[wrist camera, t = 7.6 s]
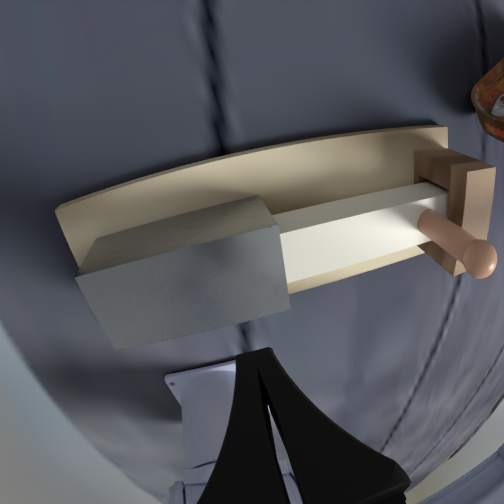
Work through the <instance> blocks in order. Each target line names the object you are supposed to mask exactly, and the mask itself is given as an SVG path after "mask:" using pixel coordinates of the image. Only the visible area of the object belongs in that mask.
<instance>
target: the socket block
mask: <svg viewBox="0 0 504 504" xmlns="http://www.w3.org/2000/svg"><path fill="white" fill-rule="evenodd" d="M413 152H414V184H418V183H423V182H428V181H432V182H434V183H436V184H438V185H440V186H442V187H444V188H446V189H448V190H450V196H449V209H448V219H449V220H450V221H452V222H453V223H455V224H456V225H458V226H459V227H461V228H462V229H464V230H465V231H467V232H468V233H470V234H471V235H473V236H474V237H476V238H477V239H483V240H486V239H487V233H488V228H489V222H490V215H491V208H492V201H493V192H494V183H495V171H496V167H494V166H492V165H490V164H487V163H485V162H482V161H480V160H477V159H475V158H472V157H469V156H467V155H464V154H461V153H459V152H456V151H453V150H450V149H447V148H444V147H440V148H431V149H423V150H415V151H413ZM416 246H418V247H419V248H420V249H421V250H423V251H424V252H425V253H426V254H428V255H429V256H430V257H431V258H432V259H434V260H435V261H436V262H437V263H438V264H439V265H441V266H442V267H443V268H444V269H445V270H446V271H448V272H449V273H450V274H451V275H452V276H456V275H458V274H460V273H463V272H465V271H466V270H465V268H464V265H463V264H462V263H460V262H459V261H458V260H457V259H455V258H454V257H453V256H452V255H450V254H449V253H448V252H447V251H445V250H444V249H443V248H441V247H440V246H439V245H437V244H436V243H435V242H433V241H428V242H425V243H422V244H419V245H416Z"/></svg>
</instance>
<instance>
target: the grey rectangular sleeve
mask: <svg viewBox="0 0 504 504" xmlns="http://www.w3.org/2000/svg"><path fill="white" fill-rule="evenodd" d="M75 279H76V281H77V283H78V285H79V287H80V289H81V291H82V293H83V295H84V297H85V299H86V300H87V302H88V304H89V306H90V308H91V309H92V311H93V313H94V315H95V317H96V318H97V320H98V322H99V323H100V325H101V327H102V329H103V330H104V332H105V334H106V335H107V337H108V339H109V340H110V342H111V343H112V345H113V347H114V348H115V350H119V349H124V348H130V347H135V346H140V345H145V344H150V343H155V342H160V341H164V340H169V339H174V338H178V337H183V336H187V335H192V334H196V333H200V332H205V331H209V330H213V329H217V328H222V327H226V326H230V325H234V324H238V323H242V322H246V321H249V320H253V319H257V318H261V317H265V316H268V315H272V314H276V313H279V312H283V311H287V310H290V309H291V308H290V301H289V294H288V287H287V280H286V273H285V266H284V259H283V252H282V246H281V239H280V233H279V226H278V224H277V222H276V221H275V219H274V218H273V216H272V215H271V213H270V212H269V210H268V209H267V207H266V206H265V204H264V203H263V201H262V200H261V198H260V197H259V195H256V196H252V197H247V198H243V199H239V200H235V201H231V202H227V203H223V204H219V205H214V206H210V207H207V208H203V209H199V210H195V211H191V212H187V213H183V214H180V215H176V216H172V217H168V218H165V219H161V220H157V221H154V222H150V223H147V224H143V225H140V226H136V227H133V228H129V229H126V230H122V231H119V232H115V233H112V234H109V235H105V236H102V237H99V238H96V239H95V241H94V243H93V245H92V246H91V248H90V250H89V252H88V254H87V255H86V257H85V259H84V261H83V263H82V265H81V266H80V268H79V270H78V272H77V274H76V276H75Z"/></svg>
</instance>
